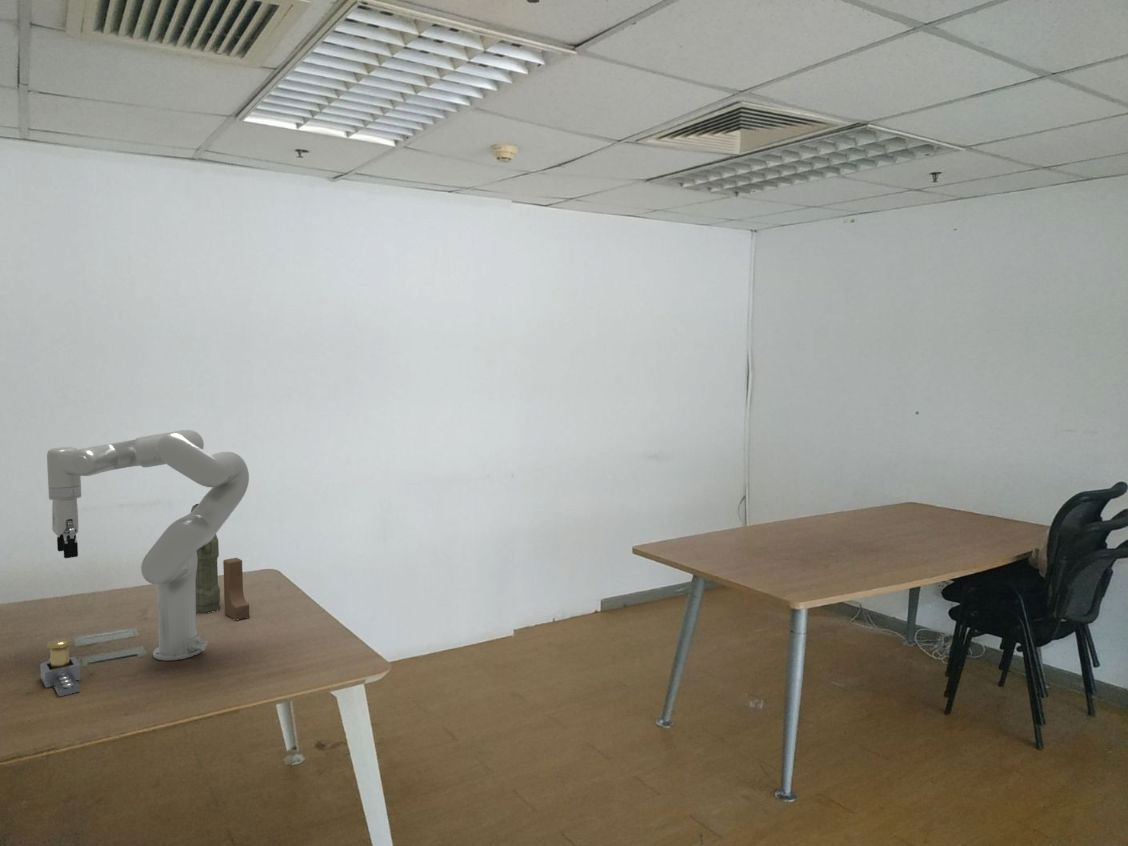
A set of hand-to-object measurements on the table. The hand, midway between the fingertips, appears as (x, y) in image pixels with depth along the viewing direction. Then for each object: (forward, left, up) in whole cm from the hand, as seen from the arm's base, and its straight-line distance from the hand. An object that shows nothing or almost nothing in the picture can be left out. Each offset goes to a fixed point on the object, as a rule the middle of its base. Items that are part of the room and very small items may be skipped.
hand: (67, 553), depth 213 cm
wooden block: (-24, -39, -28) cm, 54 cm away
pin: (-12, +15, -28) cm, 34 cm away
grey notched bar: (-12, +15, -28) cm, 34 cm away
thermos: (-10, -42, -28) cm, 52 cm away
